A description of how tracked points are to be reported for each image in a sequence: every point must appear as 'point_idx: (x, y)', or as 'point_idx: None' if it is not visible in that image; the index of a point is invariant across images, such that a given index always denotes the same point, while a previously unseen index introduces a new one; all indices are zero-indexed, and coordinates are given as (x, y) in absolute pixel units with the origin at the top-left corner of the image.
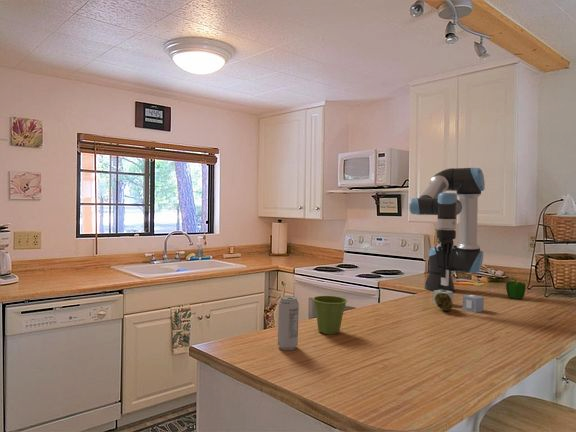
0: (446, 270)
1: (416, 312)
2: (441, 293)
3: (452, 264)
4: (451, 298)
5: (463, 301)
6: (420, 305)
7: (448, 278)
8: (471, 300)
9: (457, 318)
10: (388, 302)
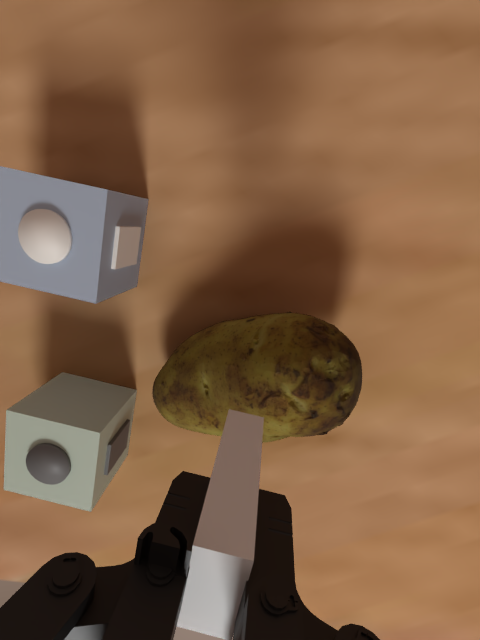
0: (252, 564)
1: (410, 444)
2: (317, 405)
3: (19, 623)
4: (51, 392)
5: (115, 290)
6: None
7: (221, 455)
8: (114, 229)
9: (394, 222)
10: None
